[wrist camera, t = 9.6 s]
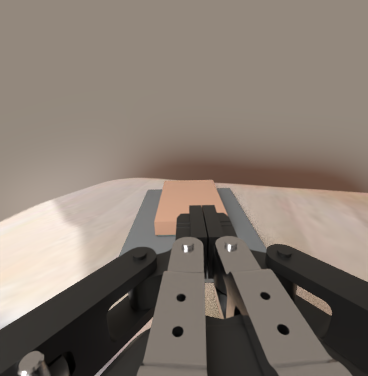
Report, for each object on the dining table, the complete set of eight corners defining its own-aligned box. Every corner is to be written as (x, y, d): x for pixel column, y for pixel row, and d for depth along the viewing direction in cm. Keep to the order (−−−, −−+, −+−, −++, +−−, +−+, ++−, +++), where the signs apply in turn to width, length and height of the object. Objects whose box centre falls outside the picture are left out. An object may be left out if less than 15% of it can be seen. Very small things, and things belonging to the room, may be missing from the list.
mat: (281, 281, 20) (282, 275, 20) (109, 284, 20) (108, 279, 20) (229, 191, 43) (229, 188, 43) (148, 192, 43) (148, 189, 43)
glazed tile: (230, 220, 26) (212, 179, 41) (154, 221, 26) (164, 180, 41) (229, 235, 27) (212, 190, 42) (155, 237, 27) (165, 191, 42)
